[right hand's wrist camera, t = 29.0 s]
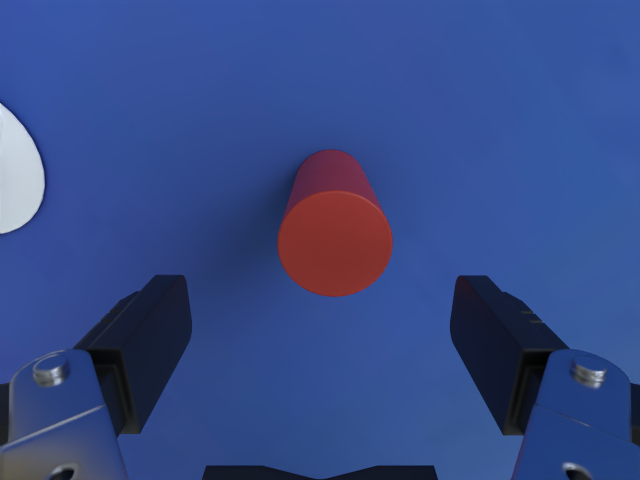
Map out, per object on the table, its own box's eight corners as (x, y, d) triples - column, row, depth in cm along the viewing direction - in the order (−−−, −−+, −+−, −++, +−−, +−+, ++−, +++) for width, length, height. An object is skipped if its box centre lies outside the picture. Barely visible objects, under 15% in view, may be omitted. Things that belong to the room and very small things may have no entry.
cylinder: (301, 222, 25) (288, 303, 16) (289, 155, 24) (266, 199, 14) (369, 213, 25) (397, 290, 16) (361, 144, 23) (388, 181, 14)
